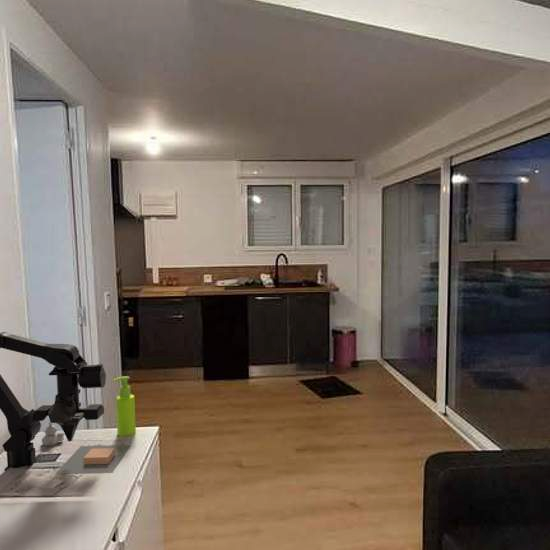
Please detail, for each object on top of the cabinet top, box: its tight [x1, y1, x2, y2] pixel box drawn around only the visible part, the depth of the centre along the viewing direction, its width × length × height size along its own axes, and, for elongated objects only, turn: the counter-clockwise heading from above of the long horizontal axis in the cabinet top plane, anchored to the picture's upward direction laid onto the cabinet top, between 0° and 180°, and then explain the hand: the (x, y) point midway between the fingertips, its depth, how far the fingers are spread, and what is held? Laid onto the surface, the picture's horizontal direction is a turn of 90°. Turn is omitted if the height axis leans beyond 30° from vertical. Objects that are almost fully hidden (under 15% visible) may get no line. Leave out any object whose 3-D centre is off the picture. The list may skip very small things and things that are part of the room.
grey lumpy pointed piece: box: [41, 421, 65, 447], centre depth 151 cm, size 5×7×8 cm
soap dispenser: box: [112, 375, 137, 437], centre depth 158 cm, size 6×7×20 cm
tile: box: [84, 448, 115, 464], centre depth 138 cm, size 2×6×7 cm
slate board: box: [54, 444, 132, 475], centre depth 139 cm, size 16×18×1 cm
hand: (70, 440), depth 138 cm, fingers closed
